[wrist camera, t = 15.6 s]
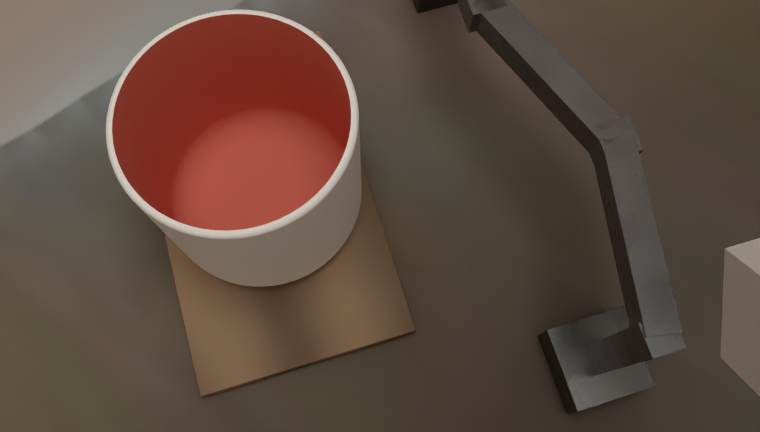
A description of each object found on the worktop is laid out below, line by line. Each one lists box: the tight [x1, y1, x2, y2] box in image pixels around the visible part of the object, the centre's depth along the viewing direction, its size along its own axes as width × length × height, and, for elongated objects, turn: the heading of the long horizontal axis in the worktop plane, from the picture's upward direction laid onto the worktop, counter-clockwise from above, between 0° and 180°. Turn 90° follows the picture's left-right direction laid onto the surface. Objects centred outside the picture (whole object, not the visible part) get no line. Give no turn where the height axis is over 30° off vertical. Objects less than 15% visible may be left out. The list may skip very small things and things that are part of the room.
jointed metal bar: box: [413, 0, 687, 413], centre depth 35 cm, size 5×28×10 cm, turn 17°
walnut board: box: [164, 31, 416, 397], centre depth 38 cm, size 11×18×1 cm, turn 17°
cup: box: [106, 10, 362, 287], centre depth 33 cm, size 10×10×10 cm
